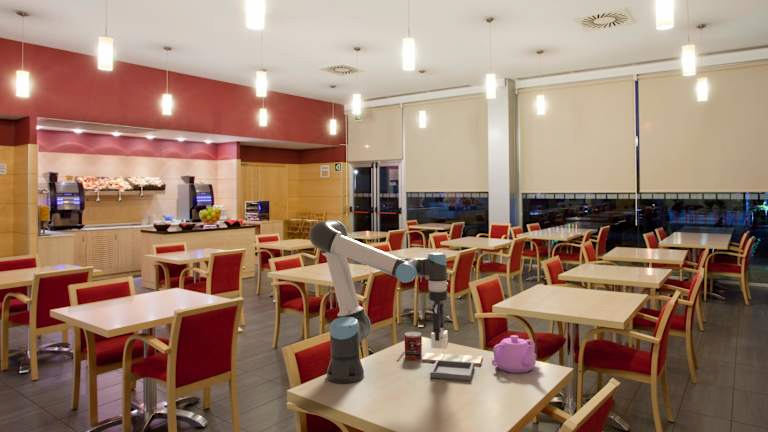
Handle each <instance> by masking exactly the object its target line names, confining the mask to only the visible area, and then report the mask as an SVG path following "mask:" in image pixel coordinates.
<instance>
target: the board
mask: <svg viewBox="0 0 768 432" xmlns="http://www.w3.org/2000/svg"><path fill="white" fill-rule="evenodd" d="M403 355H405V351H402V352H401V353H400V355H399V356H398V358H397V359H396V362H399V361H400V360H401V358H402V357H403ZM421 359H422V360H421V362H422V363H434V364H435V362H436V360H448V361H463V362H474V367H481V366H482V362H483V356H482V355H479V356H478V355H471V354H470V355H469V354H466V355H465V354H455V353H454V354H451V353H439V352H437V353H436V352H426V353H425V354H424V356H423V357H422V358H421Z"/></svg>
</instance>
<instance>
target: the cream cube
mask: <svg viewBox="0 0 768 432" xmlns="http://www.w3.org/2000/svg"><path fill="white" fill-rule="evenodd" d="M440 331H441V348H439V349H443V350H446V349H447V347H448V345H449V336H448V335H449V333H448V332H449V331H448V330H447V329H446V330H444V329H443V330H440ZM430 342H431V343H430V345H431V346H430V347H431V349H435V348H434V332H432V331H431V333H430Z"/></svg>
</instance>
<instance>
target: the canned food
mask: <svg viewBox="0 0 768 432" xmlns="http://www.w3.org/2000/svg"><path fill="white" fill-rule="evenodd" d="M422 338H423V337H422V333H421V332H420V331H407V332H405V333H404V352H405V353H404V357H405V359H406V360H408V361H417V360H421V359H422V358H423V357H422V355H423V353H422V351H423V349H422V348H423V347H422V345H423V344H422V343H423V341H422Z"/></svg>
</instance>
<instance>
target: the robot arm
mask: <svg viewBox="0 0 768 432" xmlns="http://www.w3.org/2000/svg"><path fill="white" fill-rule="evenodd" d="M308 233H309V235H308V238H309V241H310V243H311V245H313V247H315V248H316V249H318V250H320V253H321V255H322V256H324V257H325V258H326V262H327V266H328V268H329V269H328V270H329V273H330V277H331V281H332V284H333V289H334V293H335V296H336V297H335V298H336V301H337V304H338V308H339V312H338V313H337V318H335V319H333V320H332V321H331V323H330V326H329V328H330V329H329V335H330V336H329V337H330V339H329V340H330V341H329V342H330V360H329V364H328V367H327V371H326V378H327V381H329V382H332V383H336V384H353V383H356V382H359V381H361V380H363V379H364V377H365V371H364V367H363V364H362V361H361V357H360V343H361V342H362V341H363V340H365V339H366V338H367V337H368V336H369V333H370V331H371V328H372V324H371V323H372V322H371V320H370V317H369V316H368V315H367V314H366V312H365V308H364V307H362V306H361V305H360V304H359V299H358V296H357V292H356V287H355V283H354V280H353V276H352V273H351V269H350V265H349V262H348V259H350V260H353V261H355V262H358V263H360V264H363V265H365V266H368V267H370V268H373V269H375V270H377V271H380V272H383V273H385V274H387V275H390V276H393V277H394V278H396V279H397V280H398V281H400V282H401V283H405V284H406V283H410V282H412V281H414V279H415V278H417V277H428V290H429V291H428V300H430V301H432V302H433V304H432V328H433V329H432V330H431V333H432V332H434V348H433V349H440V348H441V331H440V330H444V328H446V325H445V318H444V317H445V315H444V313H445V312H444V311H445V310H444V306H445V305H444V304H445V303H444V302H445V301H447V300H448V291H447V290H448V285H449V282H447V280H448V279H447V277H448V275H447V274H448V273H447V271H448V270H447V268H448V267H447V265H448V264H447V256H446V254H445V253H443V252H429V253H428V254H427V257H410V256H409V257H401V258H400V257H398V256H395V255H393V254H390V253H388V252H385V251H383V250H381V249H378V248H375V247H374V246H370V245H368V244H365V243H363V242H360V241H358V240H355V239H353V238H350V237H348V230H347V228H346V225H345V224H344V223H343V222H341V221H339V220H338V219H337V220H336V219H327V220H322V221H318V222H316V223H315V224H313V225H312V226H311V228H310V230H309V232H308Z"/></svg>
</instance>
